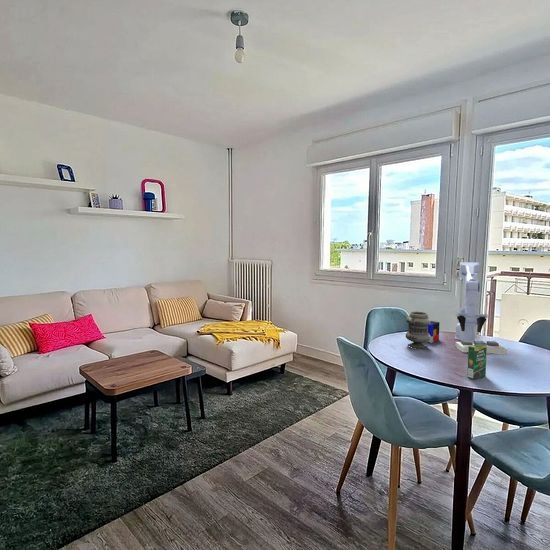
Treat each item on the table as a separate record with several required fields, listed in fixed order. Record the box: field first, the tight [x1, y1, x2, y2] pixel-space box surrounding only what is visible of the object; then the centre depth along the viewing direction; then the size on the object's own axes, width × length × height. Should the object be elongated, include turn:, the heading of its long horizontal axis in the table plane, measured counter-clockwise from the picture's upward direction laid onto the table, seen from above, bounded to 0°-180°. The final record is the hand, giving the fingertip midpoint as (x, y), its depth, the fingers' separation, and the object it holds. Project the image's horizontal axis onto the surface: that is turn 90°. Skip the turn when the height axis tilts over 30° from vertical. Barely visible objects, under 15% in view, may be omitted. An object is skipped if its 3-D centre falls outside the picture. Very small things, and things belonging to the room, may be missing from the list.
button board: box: [455, 341, 508, 355], centre depth 178 cm, size 20×10×3 cm, turn 81°
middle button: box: [473, 340, 487, 345], centre depth 179 cm, size 4×4×2 cm
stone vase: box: [405, 310, 432, 350], centre depth 183 cm, size 12×12×18 cm
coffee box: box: [466, 343, 487, 380], centre depth 141 cm, size 8×3×13 cm, turn 117°
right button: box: [485, 340, 500, 347], centre depth 178 cm, size 4×4×2 cm
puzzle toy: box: [427, 320, 440, 343], centre depth 198 cm, size 10×10×10 cm
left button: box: [460, 340, 474, 345], centre depth 180 cm, size 4×4×2 cm
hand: (471, 331), depth 178 cm, fingers open, 7 cm apart
